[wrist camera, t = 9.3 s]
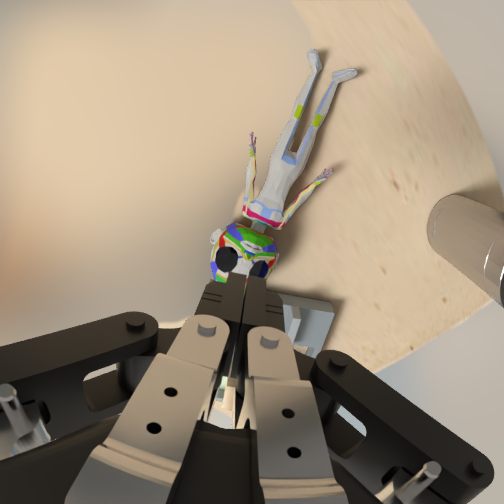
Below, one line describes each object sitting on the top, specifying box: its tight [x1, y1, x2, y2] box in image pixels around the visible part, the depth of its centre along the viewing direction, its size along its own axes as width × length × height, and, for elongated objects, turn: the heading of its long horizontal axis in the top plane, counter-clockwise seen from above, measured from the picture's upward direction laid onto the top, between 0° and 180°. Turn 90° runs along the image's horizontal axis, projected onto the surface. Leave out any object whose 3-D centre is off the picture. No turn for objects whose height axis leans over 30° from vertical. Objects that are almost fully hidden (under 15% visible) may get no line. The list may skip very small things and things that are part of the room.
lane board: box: [209, 280, 335, 402], centre depth 43 cm, size 17×18×6 cm
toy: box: [210, 49, 358, 293], centre depth 35 cm, size 10×8×30 cm
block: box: [222, 363, 236, 411], centre depth 42 cm, size 5×5×5 cm
